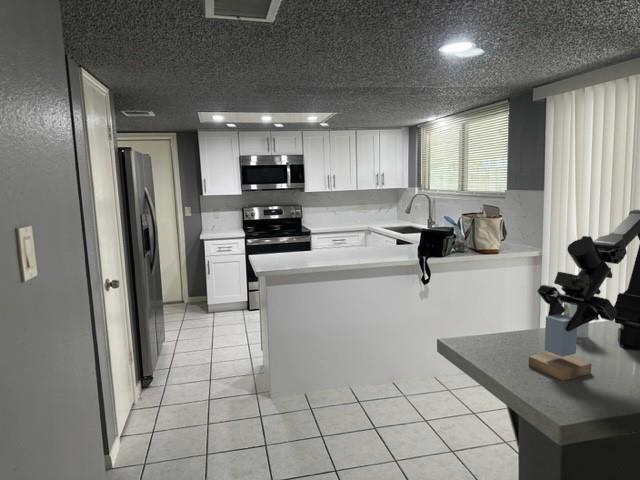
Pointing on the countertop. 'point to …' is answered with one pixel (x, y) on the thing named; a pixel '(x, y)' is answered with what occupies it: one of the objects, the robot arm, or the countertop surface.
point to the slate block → (559, 335)
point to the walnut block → (560, 365)
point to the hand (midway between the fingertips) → (557, 327)
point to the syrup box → (570, 311)
